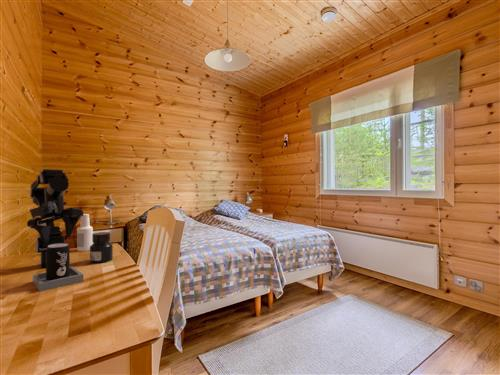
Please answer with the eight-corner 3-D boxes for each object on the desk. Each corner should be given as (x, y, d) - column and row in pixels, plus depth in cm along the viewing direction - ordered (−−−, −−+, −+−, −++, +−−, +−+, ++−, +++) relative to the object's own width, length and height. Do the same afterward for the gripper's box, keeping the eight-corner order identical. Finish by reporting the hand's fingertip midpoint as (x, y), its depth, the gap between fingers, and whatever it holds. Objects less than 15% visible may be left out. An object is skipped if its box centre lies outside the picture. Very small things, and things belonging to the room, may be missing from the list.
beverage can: (49, 284, 86) (49, 248, 86) (43, 280, 90) (43, 245, 90) (72, 278, 92) (72, 244, 91) (65, 274, 96) (65, 242, 95)
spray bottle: (81, 248, 137) (81, 213, 137) (95, 247, 138) (95, 213, 137) (74, 251, 130) (74, 215, 130) (88, 251, 131) (88, 215, 130)
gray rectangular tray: (32, 281, 90) (32, 274, 90) (73, 273, 99) (73, 266, 99) (39, 291, 82) (39, 283, 82) (83, 281, 91) (83, 274, 91)
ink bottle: (86, 260, 115) (86, 233, 115) (107, 256, 122) (107, 230, 122) (94, 265, 109) (94, 236, 109) (116, 260, 116) (116, 233, 116)
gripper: (11, 203, 94) (12, 247, 90) (58, 189, 92) (61, 233, 88) (40, 207, 104) (42, 246, 101) (82, 195, 103) (86, 234, 99)
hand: (57, 240), depth 97 cm, fingers open, 9 cm apart
